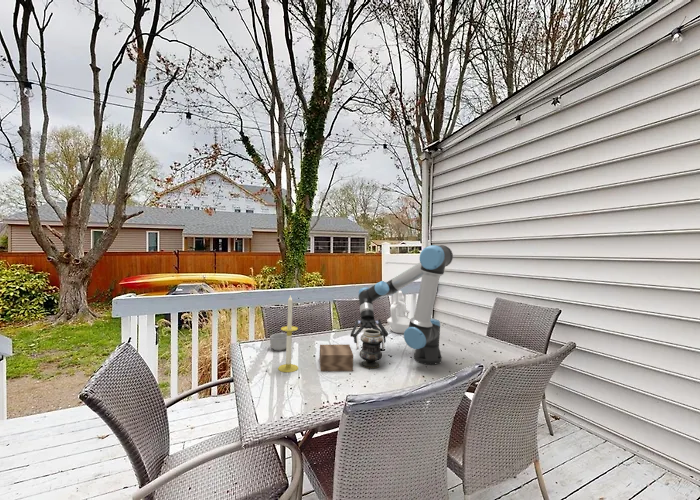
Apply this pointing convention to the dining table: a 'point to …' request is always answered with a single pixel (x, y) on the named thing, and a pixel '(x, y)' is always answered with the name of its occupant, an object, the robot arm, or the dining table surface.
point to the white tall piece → (398, 314)
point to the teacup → (278, 341)
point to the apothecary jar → (371, 348)
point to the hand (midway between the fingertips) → (370, 348)
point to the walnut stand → (336, 358)
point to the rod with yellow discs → (289, 341)
